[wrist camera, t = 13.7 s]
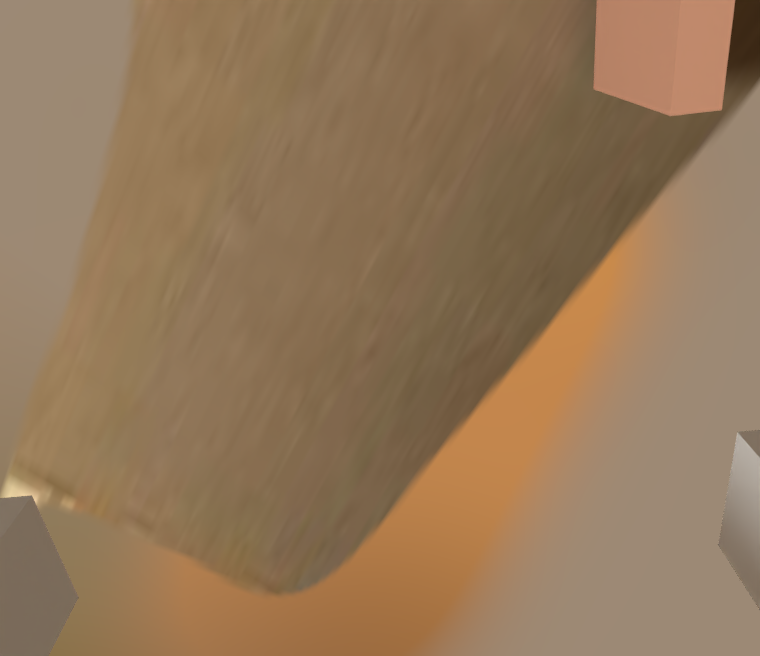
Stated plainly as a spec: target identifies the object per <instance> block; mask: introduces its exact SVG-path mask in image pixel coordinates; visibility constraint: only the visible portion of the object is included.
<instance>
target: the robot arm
mask: <svg viewBox="0 0 760 656" xmlns="http://www.w3.org/2000/svg"><path fill="white" fill-rule="evenodd" d="M718 545H719V547H720V549H721V550H722V552H723V553H724V555H725V556H726V558H727V559H728V561H729V563H730V564H731V566H732V567H733V569H734V570H735V572H736V574H737V575H738V577H739V578H740V580H741V581H742V583H743V584H744V586H745V588H746V589H747V591H748V592H749V594H750V595H751V597H752V599H753V600H754V602H755V603H756V605H757V606H758V608H759V610H760V430H754V431H744V432H738V433H737V438H736V444H735V450H734V456H733V462H732V468H731V473H730V479H729V485H728V491H727V497H726V503H725V509H724V514H723V520H722V526H721V533H720V538H719V544H718ZM77 599H78V595H77V593H76V591H75V589H74V587H73V584H72V582H71V580H70V578H69V576H68V573H67V571H66V569H65V567H64V565H63V563H62V560H61V558H60V556H59V554H58V552H57V549H56V547H55V545H54V543H53V541H52V539H51V537H50V534H49V532H48V530H47V528H46V526H45V523H44V521H43V519H42V517H41V515H40V512H39V510H38V508H37V506H36V504H35V501H34V499H33V497H32V496H22V497H11V498H0V656H49V654H50V652H51V650H52V648H53V646H54V644H55V642H56V640H57V638H58V636H59V634H60V632H61V630H62V629H63V627H64V625H65V623H66V621H67V619H68V617H69V615H70V613H71V611H72V609H73V607H74V605H75V603H76V601H77Z"/></svg>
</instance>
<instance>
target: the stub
mask: <svg viewBox="0 0 760 656" xmlns="http://www.w3.org/2000/svg"><path fill="white" fill-rule="evenodd" d="M734 6H735V0H597V12H596V39H595V67H594V90H597V91H600V92H603V93H606V94H609V95H612V96H615V97H617V98H620V99H623V100H626V101H629V102H632V103H635V104H638V105H640V106H643V107H646V108H649V109H652V110H655V111H658V112H661V113H663V114H666V115H669V116H674V115H683V114H691V113H700V112H709V111H718V110H722V104H723V95H724V87H725V79H726V71H727V63H728V55H729V47H730V38H731V30H732V22H733V14H734Z"/></svg>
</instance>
